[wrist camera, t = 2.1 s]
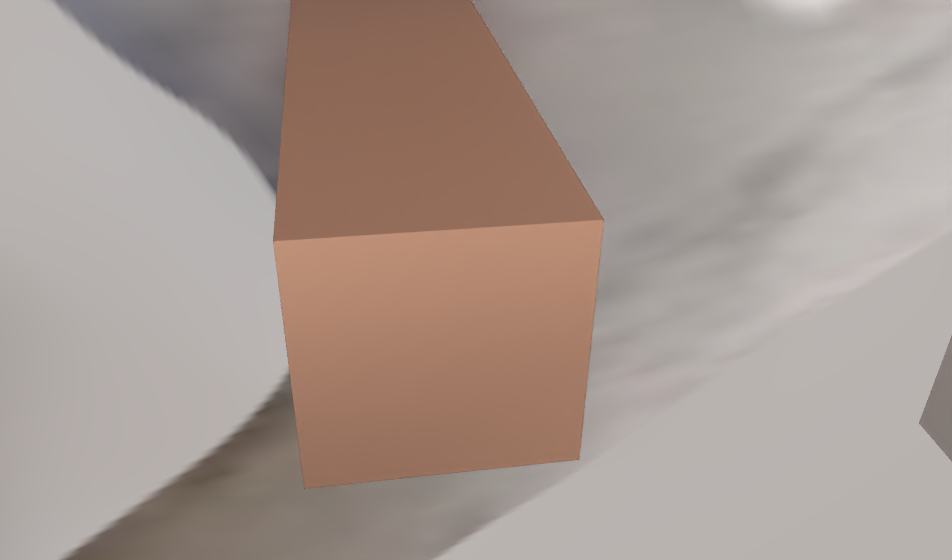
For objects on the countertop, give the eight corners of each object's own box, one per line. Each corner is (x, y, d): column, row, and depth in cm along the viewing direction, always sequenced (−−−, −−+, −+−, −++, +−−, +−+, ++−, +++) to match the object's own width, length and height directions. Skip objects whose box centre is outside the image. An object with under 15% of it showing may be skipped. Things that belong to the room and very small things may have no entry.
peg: (451, 114, 25) (578, 459, 13) (307, 121, 24) (303, 488, 12) (450, -33, 22) (604, 220, 11) (293, -29, 22) (273, 241, 10)
